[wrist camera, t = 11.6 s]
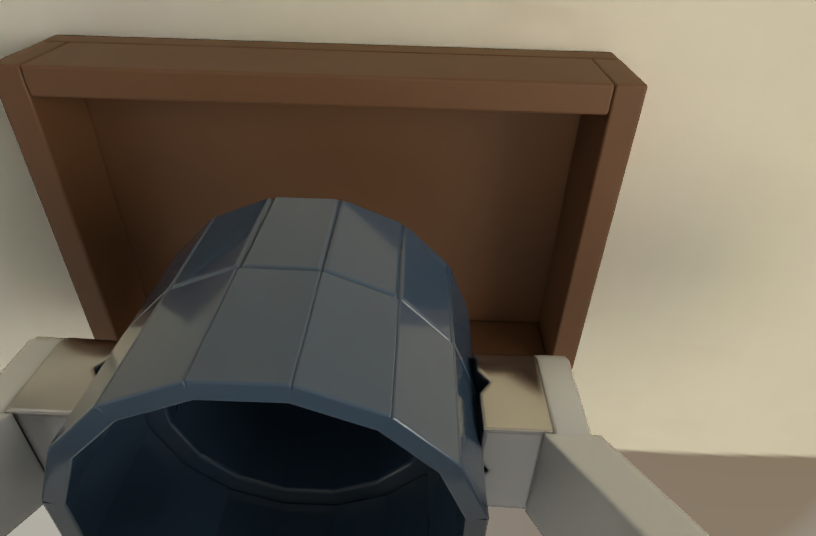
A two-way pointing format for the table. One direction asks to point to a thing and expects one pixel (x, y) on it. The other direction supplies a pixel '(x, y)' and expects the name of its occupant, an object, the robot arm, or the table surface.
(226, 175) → the tray
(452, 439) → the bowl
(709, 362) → the table surface
